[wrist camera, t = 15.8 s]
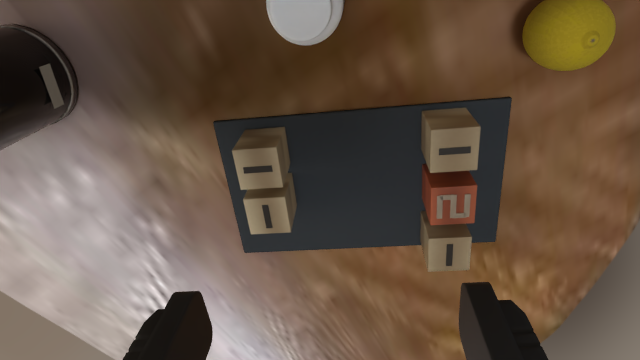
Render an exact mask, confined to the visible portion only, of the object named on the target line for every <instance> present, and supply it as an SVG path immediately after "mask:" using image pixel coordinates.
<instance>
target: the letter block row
mask: <svg viewBox="0 0 640 360" xmlns="http://www.w3.org/2000/svg"><path fill="white" fill-rule="evenodd" d="M480 130H481V127H480V125H479V124H478V123H477V121H476V120H475V119H474V118H473V116H472V115H471V114H470V113H469V111H468V110H467V109H466V108H453V109H440V110H428V111H422V121H421V150H422V153H423V156H424V158H425V161H426V163H427V166H428V169H429V171H430V173H437V172H453V171H468V170H477V167H478V155H479V142H480ZM420 242H421V246H422V250H423V254H424V258H425V262H426V266H427V270H428V271H456V270H469V267H470V255H471V242H472V236H471V234H470V232H469V230H468V227H467V225H466V224H448V225H430V223H429V220H428V216H427V213H426V211H421V229H420Z"/></svg>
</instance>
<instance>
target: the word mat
mask: <svg viewBox="0 0 640 360" xmlns="http://www.w3.org/2000/svg"><path fill="white" fill-rule="evenodd" d="M511 99H512V98H511V97H504V98H492V99H480V100H468V101H455V102H443V103H431V104H419V105H406V106H394V107H382V108H370V109H358V110H345V111H333V112H321V113H309V114H296V115H284V116H272V117H260V118H248V119H235V120H223V121H214V122H213V124H214V128H215V132H216V136H217V140H218V145H219V149H220V153H221V157H222V161H223V165H224V169H225V174H226V178H227V182H228V186H229V190H230V194H231V198H232V203H233V207H234V211H235V215H236V219H237V223H238V227H239V232H240V236H241V240H242V244H243V248H244V252H245V253H251V252H273V251H296V250H318V249H341V248H363V247H385V246H408V245H421V242H420V229H421V211H426V210H425V206H424V203H423V200H422V164H427V163H426V161H425V158H424V156H423V153H422V150H421V121H422V111H428V110H440V109H453V108H466V109H467V110H468V111H469V113H470V114H471V115H472V116H473V118H474V119H475V120H476V121H477V123H478V124H479V125H480V127H481V130H480V142H479V155H478V167H477V170H469V172H470V173H471V175H472V177H473V179H474V181H475V182H476V184H477V197H476V209H475V222H474V223H467V224H466V225H467V227H468V230H469V232H470V234H471V236H472V242H471V243H475V242H495V240H496V231H497V222H498V213H499V205H500V196H501V187H502V178H503V169H504V161H505V152H506V143H507V134H508V126H509V117H510V108H511ZM276 127H285V132H286V138H287V145H288V151H289V158H290V166H289V170H288V173H292V177H293V183H294V190H295V196H296V202H297V207H296V212H295V216H294V221H293V225H292V230H291V232H289V233H269V234H251V232H250V228H249V224H248V219H247V215H246V210H245V206H244V202H243V199H244V197H245V194H246V192H247V190H248V189H247V190H241V188H240V184H239V180H238V175H237V171H236V166H235V162H234V158H233V153H232V150H233V148H234V146H235V145H236V143H237V142H238V140H239V139H240V137H241V135H242V134H243V132H244V131H245V130H251V129H264V128H276Z"/></svg>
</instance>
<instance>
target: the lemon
mask: <svg viewBox="0 0 640 360" xmlns="http://www.w3.org/2000/svg"><path fill="white" fill-rule="evenodd" d="M615 28H616V24H615V18H614V15H613V13H612V11H611V9H610V8H609V6H607V5H606V4H605V3H604V2H603V1H602V0H544V1H542V2H541V3H539V4H538V5H537V6H536V7H535V8H534V9H533V10H532V11H531V13H530V14H529V16H528V18H527V19H526V22H525V24H524V27H523V34H522V38H523V45H524V48H525V50H526V52H527V54H528V55H529V56H530V57H531V58H532V60H533V61H534V62H536V63H538V64H539V65H541V66H543V67H545V68H548V69H552V70H556V71H571V70H576V69H580V68H583V67H586V66H588V65H590V64H592V63H594V62H595V61H596V60H598V59H599V58H600V57H601V56H602V55H603V54H604V53H605V52H606V51H607V49H608V48H609V46H610V45H611V43H612V40H613V38H614V35H615Z"/></svg>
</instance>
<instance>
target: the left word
mask: <svg viewBox="0 0 640 360" xmlns="http://www.w3.org/2000/svg"><path fill="white" fill-rule="evenodd" d="M232 153H233V158H234V162H235V166H236V171H237V175H238V180H239V184H240V188H241V190H247V189H248V190H247V192H246V194H245V197H244V199H243V202H244V206H245V210H246V215H247V219H248V224H249V228H250V232H251V234H269V233H289V232H291V230H292V225H293V221H294V216H295V212H296V207H297V202H296V196H295V190H294V183H293V177H292V173H288V170H289V166H290V158H289V151H288V145H287V138H286V132H285V127H276V128H264V129H251V130H245V131H244V132H243V134H242V135H241V137H240V139H239V140H238V142H237V143H236V145H235V146H234V148H233V150H232Z"/></svg>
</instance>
